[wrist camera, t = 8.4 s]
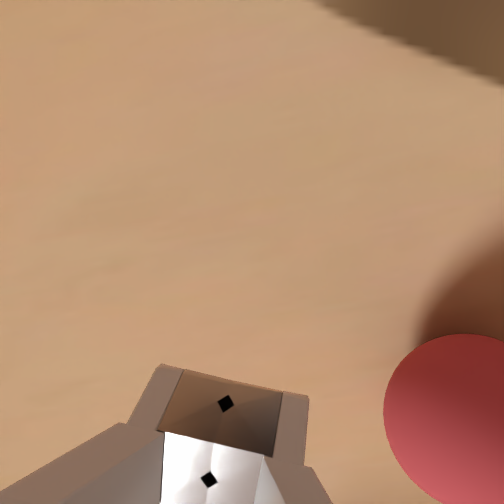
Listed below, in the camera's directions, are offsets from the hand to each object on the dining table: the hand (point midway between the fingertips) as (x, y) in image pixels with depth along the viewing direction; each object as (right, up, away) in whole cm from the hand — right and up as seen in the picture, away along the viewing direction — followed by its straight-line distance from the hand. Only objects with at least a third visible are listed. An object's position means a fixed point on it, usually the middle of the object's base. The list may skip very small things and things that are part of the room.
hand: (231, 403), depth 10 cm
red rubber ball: (+8, -2, +6) cm, 10 cm away
